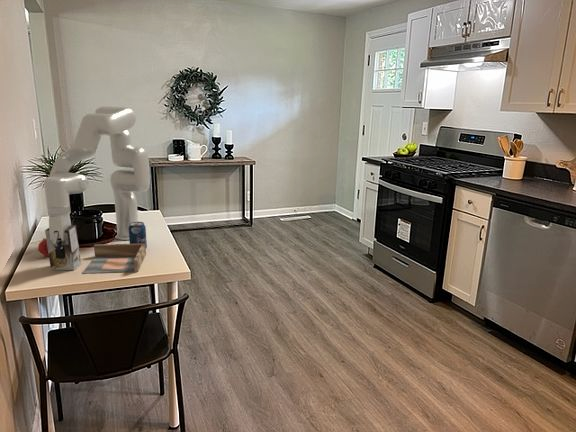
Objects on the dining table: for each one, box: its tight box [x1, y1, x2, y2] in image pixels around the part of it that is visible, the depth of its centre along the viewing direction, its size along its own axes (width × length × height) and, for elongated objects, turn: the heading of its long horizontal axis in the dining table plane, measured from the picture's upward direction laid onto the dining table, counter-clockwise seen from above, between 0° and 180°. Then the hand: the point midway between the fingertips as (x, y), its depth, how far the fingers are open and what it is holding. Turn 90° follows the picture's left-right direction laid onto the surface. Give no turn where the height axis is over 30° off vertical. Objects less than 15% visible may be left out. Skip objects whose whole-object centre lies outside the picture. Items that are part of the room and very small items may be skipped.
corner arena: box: [81, 243, 147, 275], centre depth 168 cm, size 18×20×5 cm
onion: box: [37, 237, 49, 258], centre depth 172 cm, size 6×6×8 cm
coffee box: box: [44, 224, 82, 271], centre depth 162 cm, size 9×6×16 cm
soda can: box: [128, 221, 148, 249], centre depth 182 cm, size 7×7×12 cm
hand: (64, 254), depth 162 cm, fingers closed on coffee box, 6 cm apart
